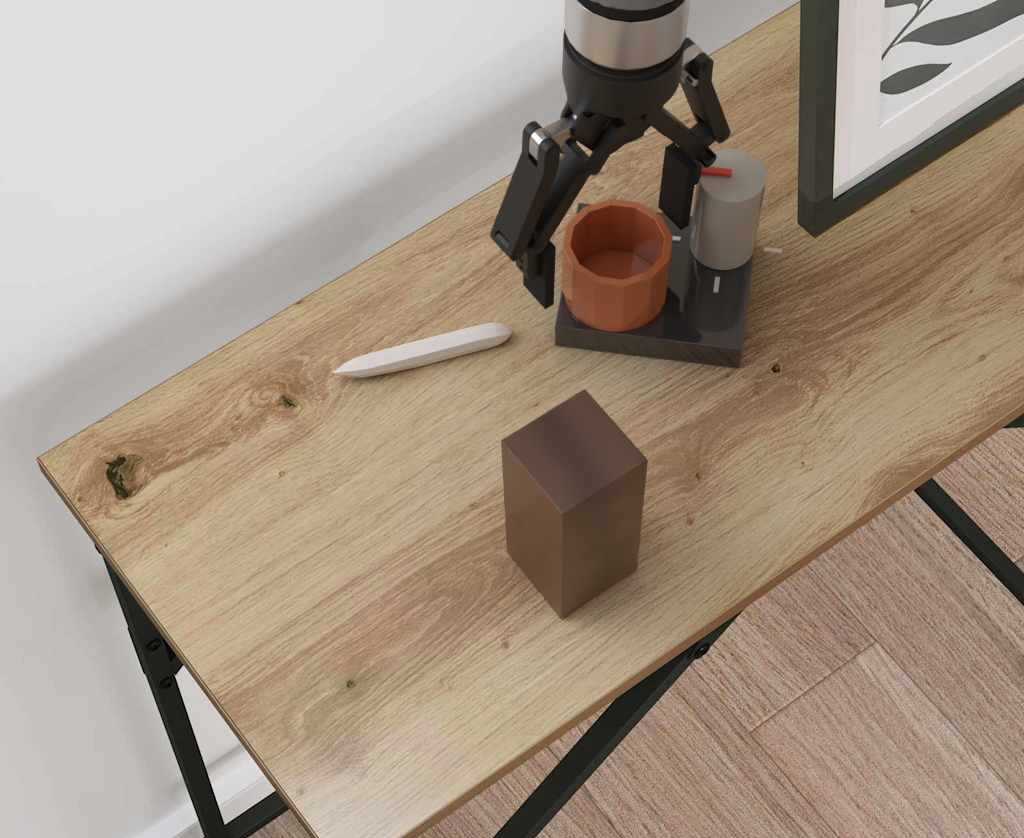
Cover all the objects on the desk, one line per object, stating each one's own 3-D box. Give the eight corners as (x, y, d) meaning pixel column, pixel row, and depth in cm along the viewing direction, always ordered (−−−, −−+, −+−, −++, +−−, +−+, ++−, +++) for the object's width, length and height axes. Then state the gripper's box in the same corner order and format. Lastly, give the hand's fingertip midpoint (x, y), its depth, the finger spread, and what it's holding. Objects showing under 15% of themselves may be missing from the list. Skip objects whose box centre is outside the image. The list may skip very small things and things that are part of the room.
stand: (581, 503, 116) (584, 388, 103) (637, 569, 113) (648, 459, 100) (506, 551, 114) (500, 440, 101) (561, 619, 112) (562, 514, 98)
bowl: (672, 255, 124) (677, 206, 119) (659, 338, 120) (664, 290, 115) (571, 243, 124) (572, 193, 119) (556, 325, 121) (556, 277, 116)
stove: (783, 226, 128) (787, 204, 126) (766, 372, 121) (771, 352, 119) (581, 202, 129) (582, 180, 127) (554, 345, 123) (554, 325, 120)
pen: (331, 373, 122) (329, 361, 120) (509, 327, 124) (508, 314, 122) (336, 390, 121) (334, 378, 120) (515, 343, 123) (514, 331, 121)
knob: (757, 222, 125) (770, 149, 118) (751, 274, 122) (764, 202, 115) (693, 215, 125) (701, 142, 118) (685, 266, 123) (694, 194, 116)
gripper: (736, -82, 104) (702, 150, 123) (428, 78, 97) (442, 298, 116) (813, -15, 101) (766, 212, 120) (500, 156, 94) (502, 368, 113)
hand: (606, 255), depth 118 cm, fingers open, 12 cm apart
